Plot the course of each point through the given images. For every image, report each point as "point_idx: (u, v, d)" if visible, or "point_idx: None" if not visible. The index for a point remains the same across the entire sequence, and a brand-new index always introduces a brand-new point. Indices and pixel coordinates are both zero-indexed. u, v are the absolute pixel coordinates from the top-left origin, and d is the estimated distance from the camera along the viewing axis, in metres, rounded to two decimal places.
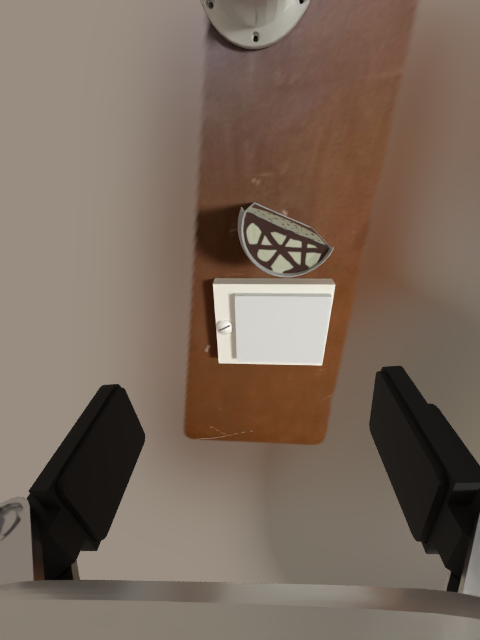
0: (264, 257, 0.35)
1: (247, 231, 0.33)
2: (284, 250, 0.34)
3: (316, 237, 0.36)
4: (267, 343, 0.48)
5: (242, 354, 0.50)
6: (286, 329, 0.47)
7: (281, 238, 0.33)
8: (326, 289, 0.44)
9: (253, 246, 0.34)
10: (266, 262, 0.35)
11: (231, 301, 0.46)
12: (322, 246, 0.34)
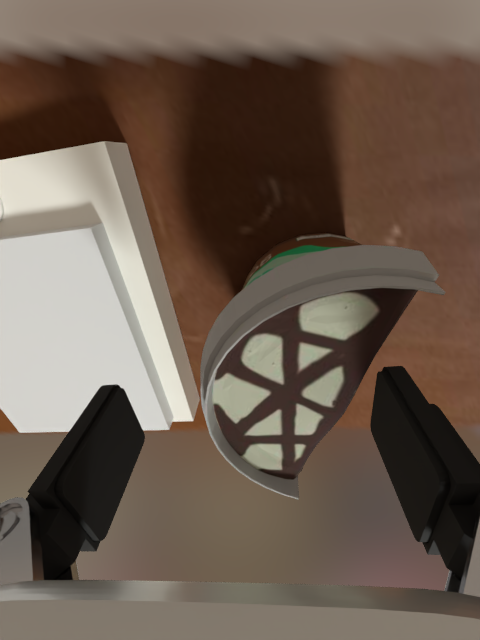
0: (256, 353, 0.10)
1: (347, 295, 0.09)
2: (282, 401, 0.11)
3: None
4: None
5: None
6: (58, 366, 0.19)
7: (323, 396, 0.11)
8: (179, 410, 0.22)
9: (291, 320, 0.09)
10: (239, 361, 0.11)
11: (72, 215, 0.15)
12: (299, 468, 0.13)
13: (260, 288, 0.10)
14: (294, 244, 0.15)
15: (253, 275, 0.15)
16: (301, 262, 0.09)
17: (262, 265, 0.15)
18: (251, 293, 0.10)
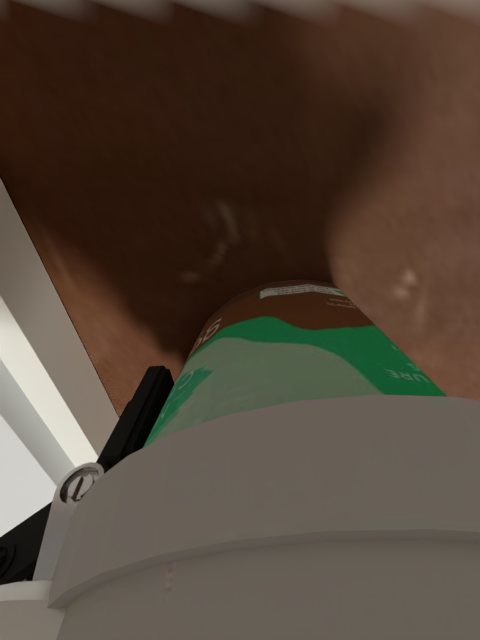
0: None
1: None
2: None
3: None
4: None
5: None
6: None
7: None
8: None
9: None
10: None
11: None
12: None
13: (127, 500, 0.04)
14: (253, 307, 0.09)
15: (188, 361, 0.09)
16: (222, 441, 0.04)
17: (204, 342, 0.09)
18: (111, 504, 0.04)
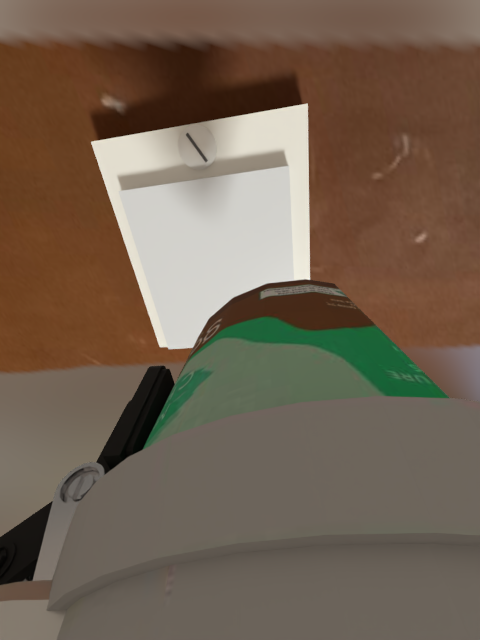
0: None
1: None
2: None
3: None
4: (184, 253, 0.24)
5: (141, 202, 0.22)
6: (224, 283, 0.25)
7: None
8: None
9: None
10: None
11: (267, 159, 0.21)
12: None
13: (127, 502, 0.04)
14: (254, 307, 0.09)
15: (189, 361, 0.09)
16: (223, 442, 0.04)
17: (205, 342, 0.09)
18: (111, 506, 0.04)
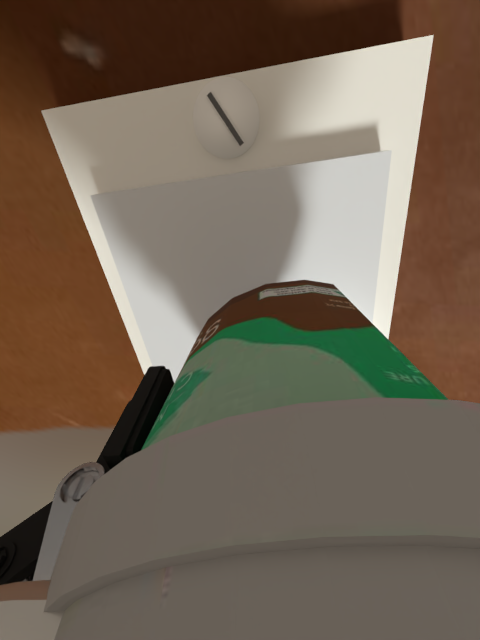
0: None
1: None
2: None
3: None
4: (200, 294, 0.15)
5: (130, 215, 0.13)
6: None
7: None
8: None
9: None
10: None
11: (345, 141, 0.12)
12: None
13: (124, 504, 0.04)
14: (253, 308, 0.09)
15: (188, 362, 0.09)
16: (220, 444, 0.04)
17: (203, 343, 0.09)
18: (109, 507, 0.04)
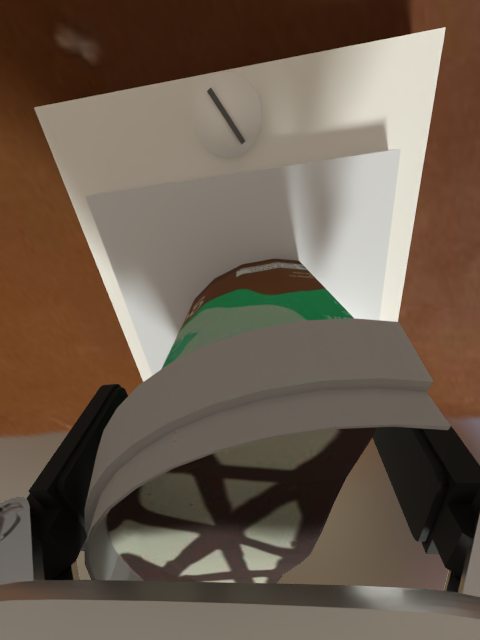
0: (160, 495, 0.07)
1: None
2: (220, 541, 0.08)
3: None
4: None
5: (127, 216, 0.13)
6: None
7: (276, 537, 0.07)
8: None
9: None
10: (137, 506, 0.07)
11: (351, 139, 0.12)
12: None
13: (143, 407, 0.06)
14: (230, 284, 0.11)
15: (179, 332, 0.11)
16: (203, 359, 0.06)
17: (191, 316, 0.11)
18: (132, 413, 0.06)
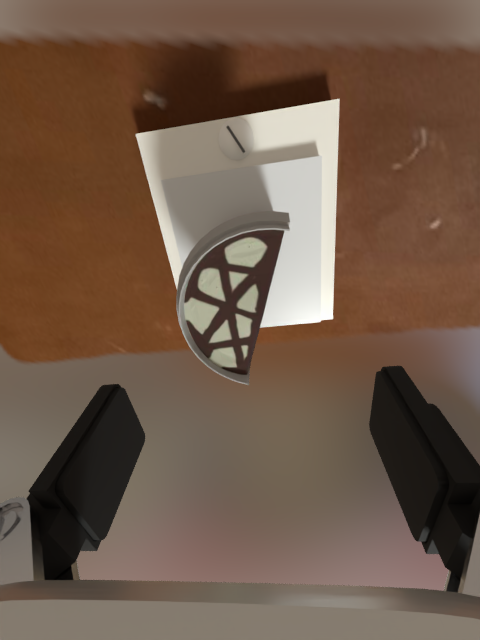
0: (205, 282, 0.18)
1: (248, 239, 0.16)
2: (227, 313, 0.19)
3: None
4: None
5: (182, 191, 0.24)
6: None
7: (249, 305, 0.18)
8: (324, 309, 0.30)
9: (221, 257, 0.17)
10: (196, 288, 0.18)
11: (299, 150, 0.23)
12: (248, 365, 0.21)
13: (202, 241, 0.17)
14: None
15: None
16: (223, 224, 0.17)
17: None
18: (198, 245, 0.17)
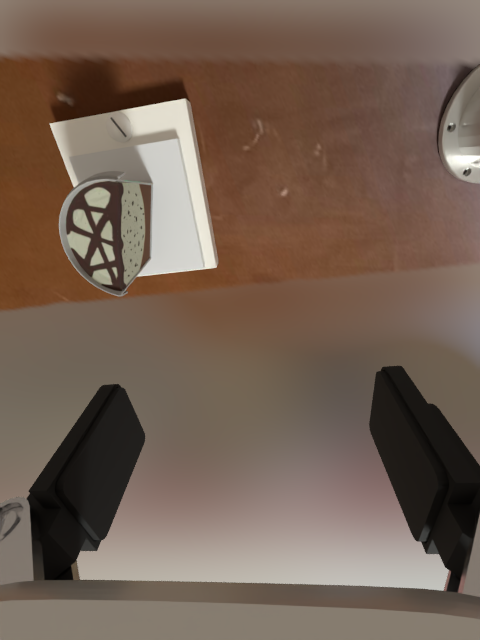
0: (78, 219, 0.27)
1: (97, 188, 0.25)
2: (96, 242, 0.28)
3: (133, 271, 0.33)
4: None
5: (84, 165, 0.33)
6: None
7: (108, 235, 0.27)
8: (208, 259, 0.39)
9: (83, 201, 0.26)
10: (73, 224, 0.27)
11: (165, 135, 0.32)
12: (120, 283, 0.30)
13: None
14: None
15: None
16: (84, 180, 0.26)
17: None
18: None
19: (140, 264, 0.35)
